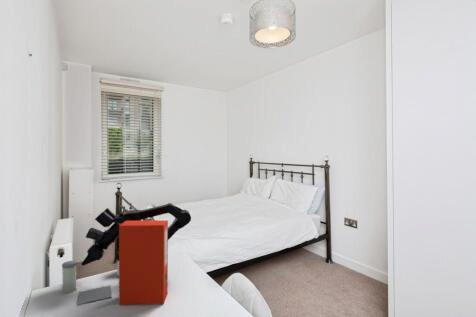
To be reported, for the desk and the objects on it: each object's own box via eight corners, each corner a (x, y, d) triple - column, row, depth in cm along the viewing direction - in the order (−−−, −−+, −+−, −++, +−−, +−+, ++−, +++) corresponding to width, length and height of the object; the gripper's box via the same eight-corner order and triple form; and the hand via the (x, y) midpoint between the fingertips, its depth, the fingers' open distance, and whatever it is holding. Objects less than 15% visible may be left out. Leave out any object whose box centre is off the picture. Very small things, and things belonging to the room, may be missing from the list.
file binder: (126, 294, 110) (126, 220, 108) (167, 293, 111) (167, 220, 110) (119, 305, 102) (118, 225, 100) (163, 304, 103) (163, 225, 102)
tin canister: (77, 285, 116) (76, 259, 115) (76, 291, 111) (75, 264, 111) (63, 288, 113) (62, 262, 113) (61, 294, 109) (61, 266, 108)
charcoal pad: (110, 286, 116) (110, 285, 116) (111, 297, 107) (111, 296, 107) (79, 293, 110) (79, 291, 110) (77, 305, 101) (77, 304, 101)
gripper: (103, 216, 123) (77, 241, 121) (93, 228, 106) (62, 257, 103) (120, 231, 126) (95, 256, 123) (114, 245, 108) (84, 274, 105)
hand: (85, 260), depth 114 cm, fingers open, 9 cm apart
